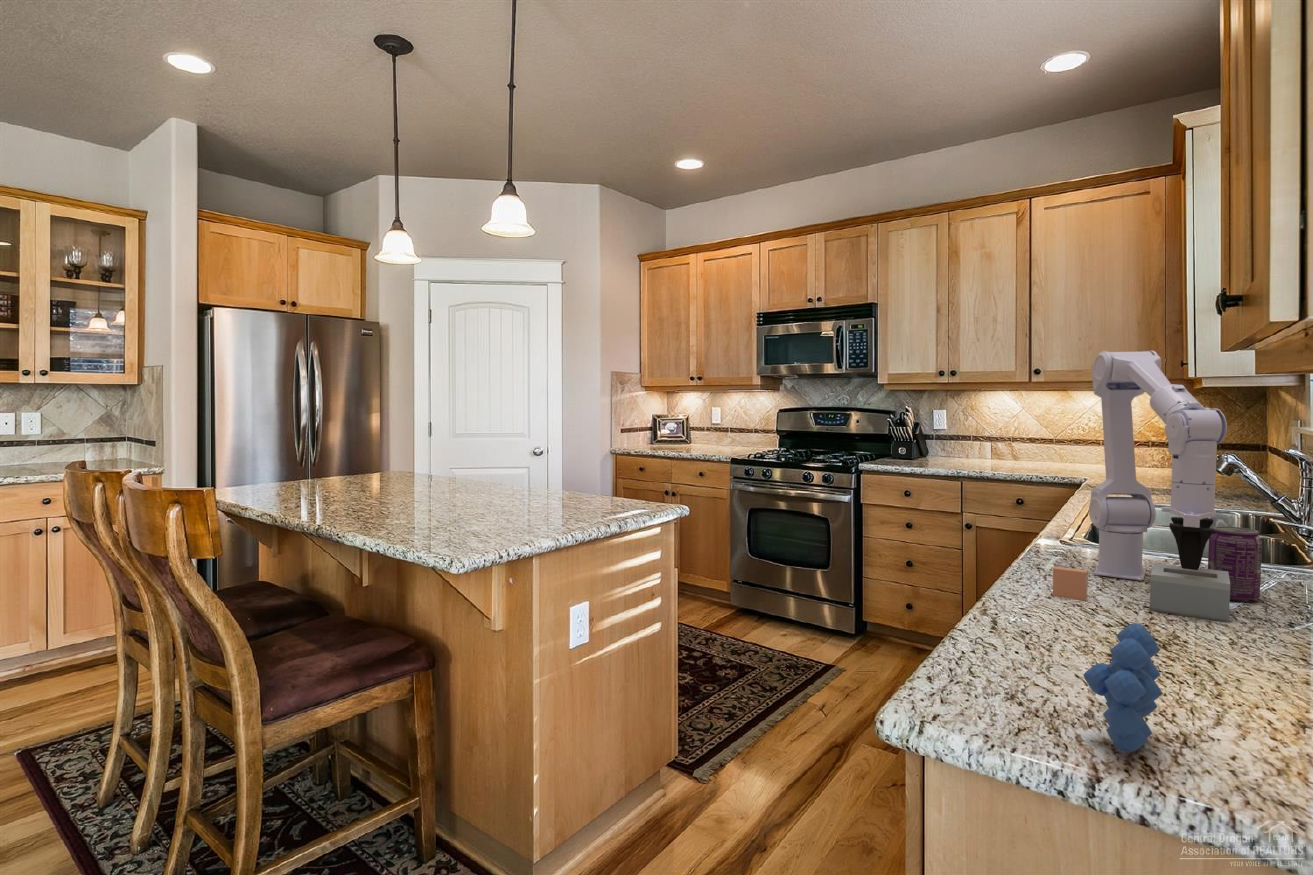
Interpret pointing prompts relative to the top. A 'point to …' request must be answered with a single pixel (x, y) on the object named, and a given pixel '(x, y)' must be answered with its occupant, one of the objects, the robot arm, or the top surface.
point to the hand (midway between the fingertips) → (1190, 564)
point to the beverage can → (1237, 559)
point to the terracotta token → (1070, 583)
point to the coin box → (1190, 592)
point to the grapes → (1128, 687)
